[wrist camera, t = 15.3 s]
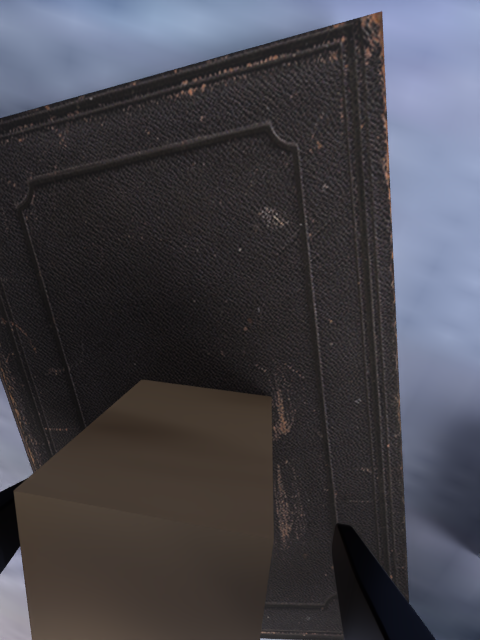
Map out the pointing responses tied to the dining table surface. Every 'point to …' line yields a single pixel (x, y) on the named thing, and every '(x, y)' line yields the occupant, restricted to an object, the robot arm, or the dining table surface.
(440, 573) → the dining table surface
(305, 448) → the hardcover book
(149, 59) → the dining table surface
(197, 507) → the walnut cube
